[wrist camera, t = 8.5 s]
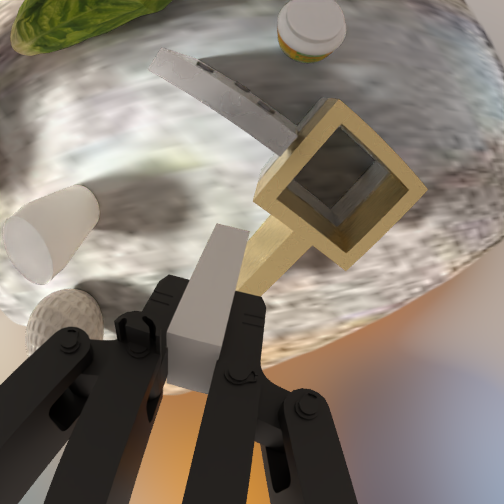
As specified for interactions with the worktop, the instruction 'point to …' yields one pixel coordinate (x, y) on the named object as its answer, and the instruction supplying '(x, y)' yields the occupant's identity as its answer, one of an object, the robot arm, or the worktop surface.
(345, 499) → the robot arm
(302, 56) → the supplement bottle
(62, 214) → the cup
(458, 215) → the worktop surface
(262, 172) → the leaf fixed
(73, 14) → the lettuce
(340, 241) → the beige square frame
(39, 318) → the vase
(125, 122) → the worktop surface
